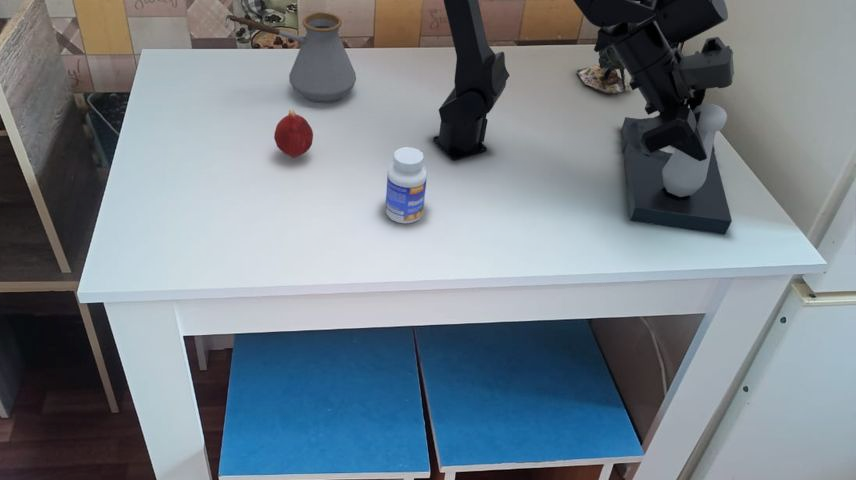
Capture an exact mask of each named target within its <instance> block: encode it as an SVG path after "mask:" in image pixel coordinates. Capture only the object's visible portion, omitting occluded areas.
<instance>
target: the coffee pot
mask: <svg viewBox="0 0 856 480" xmlns="http://www.w3.org/2000/svg"><path fill="white" fill-rule="evenodd" d="M230 21H231V22H237V23H239V25H240V26H242V25H245V26H247V27H249V28H251V29H253V30H255V31H260V32H263V33H268V34H272V35H276V36H280V37H283V38H287V39H290V40H292V41H295V42H298V43H301V45H300V48H299V50H298V52H297V55H296V58H295V60H294V63H293V65H292V67H291V70H290V72H289V75H288V76H289V77H288V78H289V79H288V81H289V83H290V85H291V87H292V88H293V90H294V91H295V92H296V93H297V94H298V95H300V96H301V97H302V98H303V99H304V100H306V101H308V102H311V103H315V104H331V103H335V102H338V101H339V100H341V99H343V97H345V96H346V95H347V94H349V93H350V92H351V91H352V90H353V88H354V86H355V84H356V81H357V75H356V70H355V69H354V67H353V65H352V62H351V60H350V58H349V55H348V52H347V50H346V48H345V46H344V44H343V42H342V39H341V37H340V34H339V30H340V28H341V27H342V25H343V20H342V19H341V18H340V16H338V15H336V14H334V13H330V12H323V11H315V12H313V13H310V14H308V15H306V16H305V17H303V19H302V22H301V23H302V26H303V27H304V28H305V32H306V33H305V35H304V36H302V35H298V34H294V33H291V32H288V31H284V30H280V29H279V28H276V27H273V26H271V25H268V24H265V23H262V22H260V21H257V20H251V19H246V18H245V17H243V16H240V17H238V16H236V15H233V14H227V15H226V17H225V21H224V28H228V26H229V24H230Z"/></svg>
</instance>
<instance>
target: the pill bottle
mask: <svg viewBox="0 0 856 480" xmlns="http://www.w3.org/2000/svg"><path fill="white" fill-rule="evenodd" d="M424 157H425V156H424V153H423V152H422V150H419V149H418V148H415V147H412V146H406V147H400V148H398V149H396V151H394V154H393V159H392V164H390V166H389V167H388V170H387V175H386V194H385V205H384V206H385V208H384V209H385V213H386V216H387V217H388V218H389V219H390V220H392V221H394V222H396V223H399V224H412V223H415V222H416V221H418V220H420V219H421V218H422V216H423V214H424V208H425V200H426V199H425V198H426V189H427V180H428V172H427V171H428V170H427V169H426V167H425V166H424V163H425V162H424V159H425V158H424Z"/></svg>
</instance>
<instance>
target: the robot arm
mask: <svg viewBox="0 0 856 480" xmlns="http://www.w3.org/2000/svg"><path fill="white" fill-rule="evenodd" d="M573 2H574V4H575V5H576V6H577V8H578V9H579V10H580V12H581V14H582V15H583V16H584V17H585V19H586V20H587V22H589V24H591V25H593V26H595V27H598V30H597V40H596V42H595V46H594V48H593V51H594V52H595V53H599V51H601V50H603V49H605V48H606V47H608V46H610V45H612V47H613V49H614V50H615V52H616V53H617V55H618V57H619V58H620V60H621V61H622V63H623V65H624V66H625V70H626V71H627V73H628V75H629V76H630V81H629V83H628V86H630V88H631V90H632V91H634V90H636V89H638V91H639V92H640V94H641V95H642V98H643V99H644V100H645V102H646V103H645V107H644V111H645V112H646V114H647V115H648V116H649V115H651V114H654V113H656V112H657V113H658V115H657V116H654V117H651V118H652V119H649V120H647V123H646V125H645V128H644V131H643V134H642V137H641V140H640V143H641V144H642V146H643V147H644V149H645V150H646V152H647V153H653V152H655V151H657V150H662V149H665V148H668V147H669V146H670V147H672V148H674V149H675V150H676V149H678V150H680V151H681V152H683V153H685V154H687V155H689V156H690V157H692V158H694V159H696V160H697V159H698V161H703V160H705V159H707V154H706V151H705V148H704V146H703V143H702V140H701V138H700V135H699V133H698V130H697V127H696V126H697V125H698V123H699V119H700V115H701V111H700V112H697V113H695V114H694V113H693V111H694V109H695V108H696V107H697V106H699V105H701V104H703V103H704V99H705V96H706V93H707V90H709V89H715V88H718V89H724V88H728V87H730V86H731V85H732V84H733V81H734V79H733V78H734V75H735V67H734V56H733V55H734V51H733V49H732V48H731V46H730V45H725V44H724V42H723V41H722V40H721V38H720V37H719V36H714V37H707V38H706V39H705V42H704V44H703V46H702V48H701V51H699V50H696V51H695V52H694V53H693V54H690V55H686V56H685V55H684V53H683V52H682V50H681V49H680V48H677V47H676V46H675V47H674V48H671V45H669V42H668V41H670V42H671V44H675V43H678V44H683V43H685V42H687V41H689V40H691V39H694V38H695V37H697V36H699V35H701V34H703V33H705V32H707V31H708V30H710V29H712V28H715V27H716V26H718V25H720V24H722V23H724V22H726V21H727V20H728V19H729V12H728V7H727V5H726V1H725V0H573ZM443 4H444V8H445V9H444V10H445V13H446V18H447V22H448V25H449V30H450V34H451V39H452V42H453V46H454V52H455V56H456V63H455V72H454V87H453V89H452V90H451V92H450V93H449V94H448V96H447V97H446V99H445V100H444V101H443V102H442V104H441V106H440V107H439V108H438V114H439V119H440V124H439V125H440V126H439V132H438V135H435V136H432V141H433V143H435V144H436V146H438V148H440V150H441V151H442V152H443V153H444V155H446V156H447V157H448V158H449V159H450V160H451V161H458V160H461V159H465V158H469V157H472V156H477V155H480V154H484V153H486V152H488V147H487V146H486V145H485V144H484V142H485V137H486V132H487V125H488V118H487V115H488V114H489V113H490V112H491V111H492V109H494V106H495V105H496V103H497V101H498V100H499V98H500V97H501V95H502V93H503V91H504V90H505V88H506V85H507V81H508V79H509V77H510V73H509V71H508V70H507V67H506V55H505V51H499V52H496V53H495V52H494V50H493V49H492V48H491V46H490V45H489V43H488V39H487V34H486V31H485V26H484V22H483V16H482V12H481V6H480V2H479V0H443Z"/></svg>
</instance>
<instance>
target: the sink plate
mask: <svg viewBox="0 0 856 480" xmlns="http://www.w3.org/2000/svg"><path fill="white" fill-rule="evenodd" d="M652 118H653V117H645V118H635V117H628V116H626V117H624V120H623V123H622V126H621V128H620V129H621V130H620V131H621V132H620V133H621V152H622V154H623V162H624V163H623V164H624V171H625V180H626V192H627V201H628V212H629V220H630V222H635V223H642V224H643V223H644V224H650V225H658V226H664V227H672V228H677V229H685V230H692V231H698V232H706V233H713V234H718V235H719V234H721V235H726V234H727V232H728V230H729V228H730V226H731V224H732V222H733V220H732V216H731V211H730V208H729V204H728V200H727V196H726V193H725V189H724V184H723V180H722V177H721V176H722V175H721V173H720V169H719V165H718V159H717V156H716V153H715V152H716V148H715V145H714V144H713V147H712V152H711V157H710V162H709V166H708V171H707V176H706V180H705V182H704V184H703V185H702V187H701V188H699V189H698V190H697V191H696V192H695V193H693V194H692V195H689V196H683V197H679V196H677V195H674V194H671V193H669V192H667V190H666V188H665V186H664V185H663V176H662V171H663V168H664V167H665V165H666V164H667V162H668V161H669V159H670V157H671V156H672V154H673V153H674V152H667V151H664V150H662V149H660V150H657V151H655V152H653V153H647V152H646V150H645V149H644V147H643V146H642V144H641V143H640V140H641V137H642V134H643V131H644V128H645V125H646V123H647V120H649V119H652Z"/></svg>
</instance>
